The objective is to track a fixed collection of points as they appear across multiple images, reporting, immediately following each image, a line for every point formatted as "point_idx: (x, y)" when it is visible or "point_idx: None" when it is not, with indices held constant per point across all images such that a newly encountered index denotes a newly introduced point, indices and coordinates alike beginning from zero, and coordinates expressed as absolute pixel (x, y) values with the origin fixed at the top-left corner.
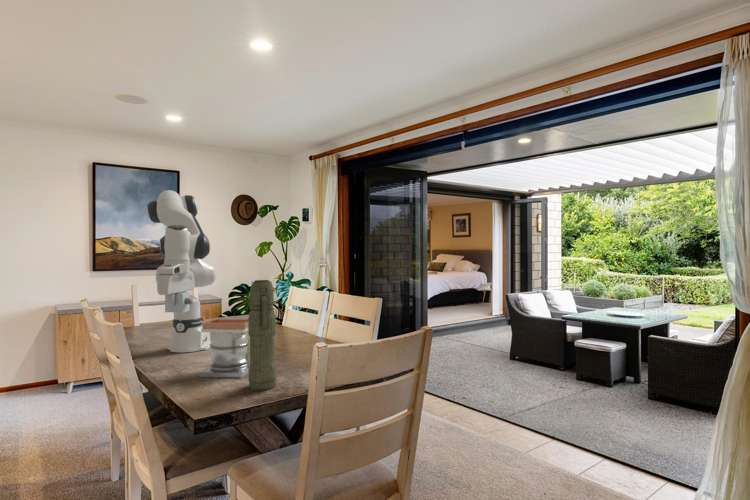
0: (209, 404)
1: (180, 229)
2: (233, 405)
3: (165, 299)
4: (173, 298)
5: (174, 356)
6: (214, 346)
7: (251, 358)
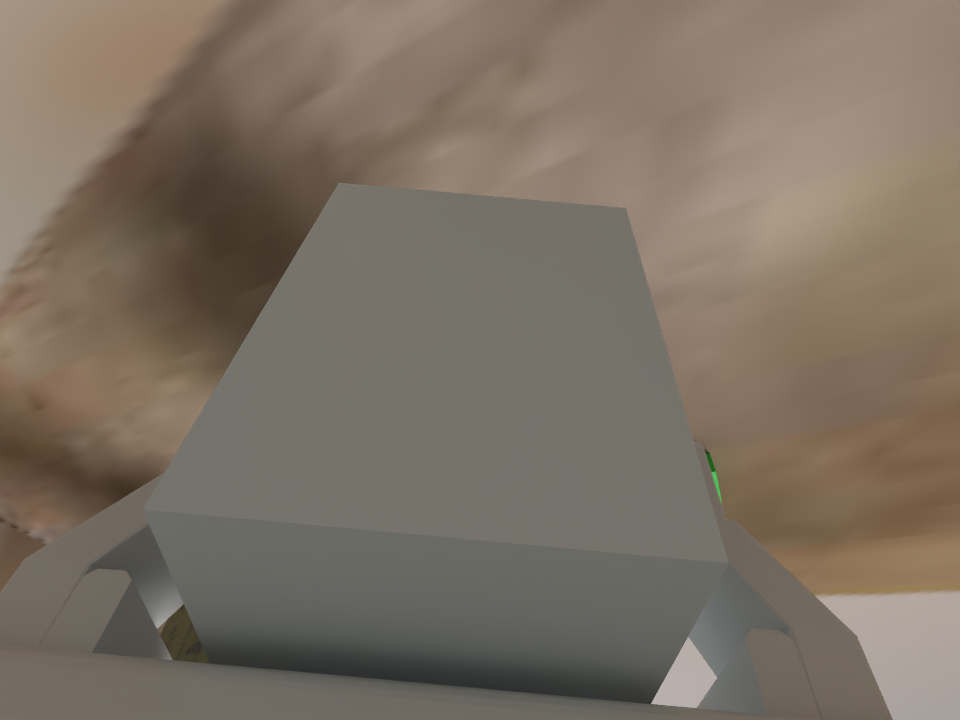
0: (10, 452)
1: None
2: (42, 511)
3: (238, 365)
4: (155, 600)
5: None
6: None
7: (163, 634)
